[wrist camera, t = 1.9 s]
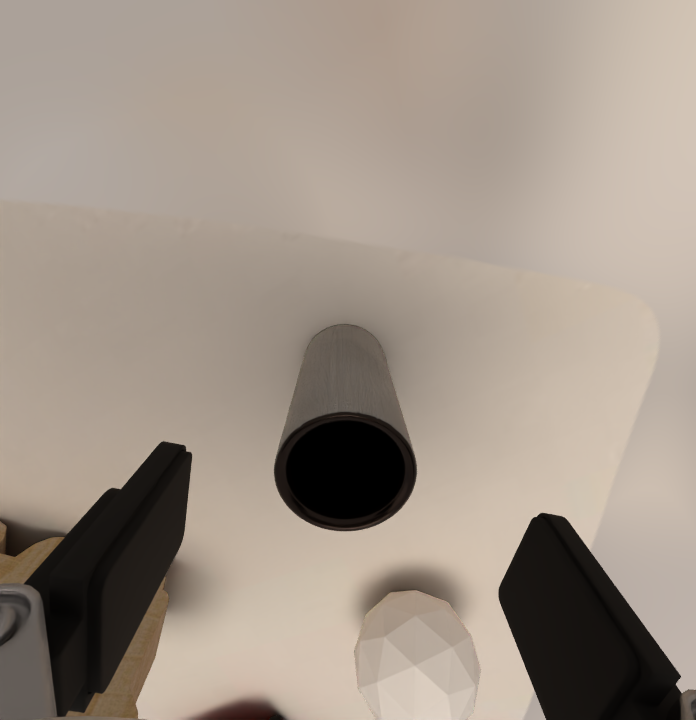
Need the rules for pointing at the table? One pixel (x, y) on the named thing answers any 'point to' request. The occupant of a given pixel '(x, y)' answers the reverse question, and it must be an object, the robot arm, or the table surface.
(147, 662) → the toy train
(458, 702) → the geometric ball
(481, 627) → the table surface
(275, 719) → the toy car
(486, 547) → the table surface
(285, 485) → the grey hollow cylinder
